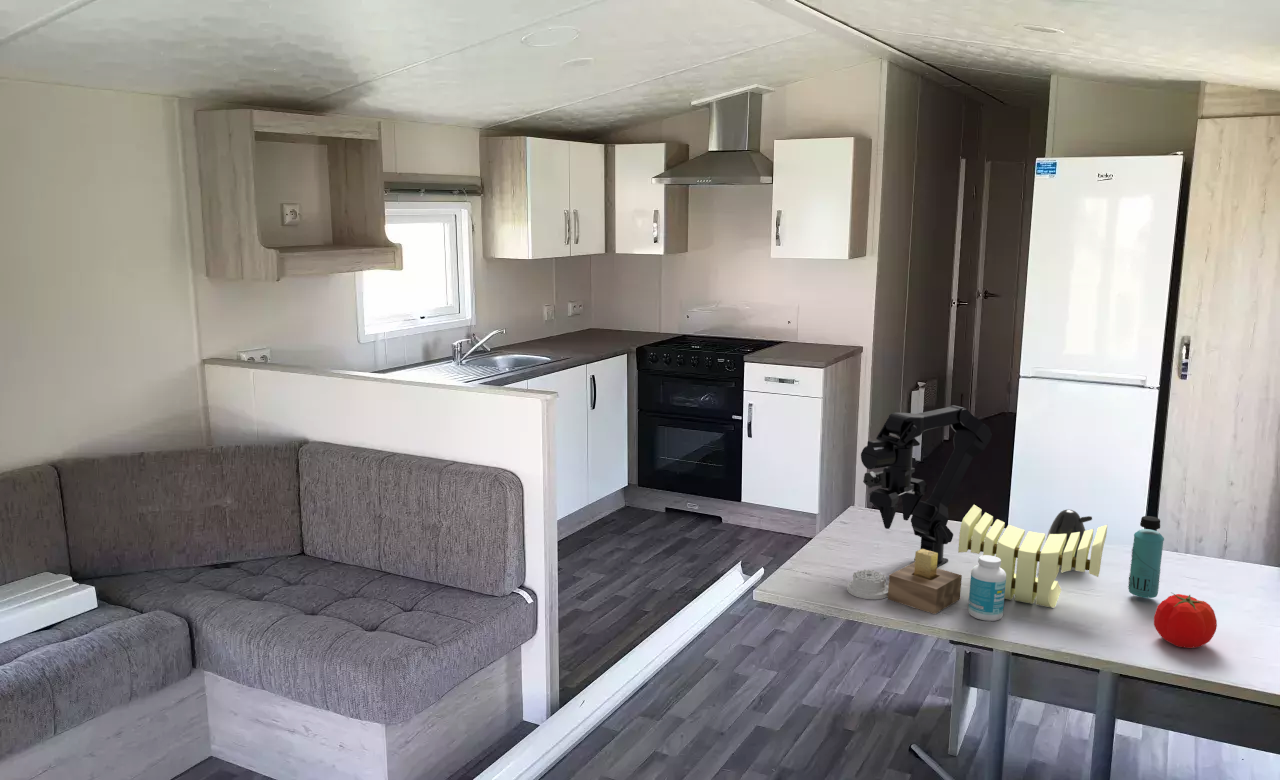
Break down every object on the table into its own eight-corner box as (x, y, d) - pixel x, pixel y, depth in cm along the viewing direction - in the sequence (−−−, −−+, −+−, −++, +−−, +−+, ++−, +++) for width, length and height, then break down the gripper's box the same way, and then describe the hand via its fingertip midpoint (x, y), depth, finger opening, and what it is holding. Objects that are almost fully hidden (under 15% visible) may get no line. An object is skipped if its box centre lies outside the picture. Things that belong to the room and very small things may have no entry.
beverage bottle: (1155, 595, 229) (1164, 514, 225) (1160, 606, 223) (1169, 523, 219) (1124, 591, 231) (1133, 511, 227) (1128, 602, 225) (1137, 520, 221)
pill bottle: (998, 625, 212) (1003, 566, 210) (964, 617, 216) (968, 560, 214) (1006, 613, 219) (1010, 556, 216) (972, 606, 222) (976, 550, 220)
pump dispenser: (1084, 577, 240) (1089, 518, 237) (1039, 569, 246) (1044, 511, 243) (1089, 564, 249) (1095, 508, 246) (1046, 557, 254) (1051, 501, 251)
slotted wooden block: (913, 585, 234) (915, 561, 233) (960, 599, 226) (961, 575, 225) (887, 599, 226) (889, 574, 225) (935, 614, 218) (936, 589, 217)
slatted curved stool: (955, 593, 229) (960, 522, 226) (969, 572, 243) (974, 504, 240) (1093, 620, 215) (1101, 544, 212) (1100, 596, 228) (1107, 524, 225)
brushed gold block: (919, 588, 228) (922, 548, 226) (935, 593, 225) (937, 553, 224) (913, 592, 226) (915, 551, 224) (928, 597, 223) (931, 556, 222)
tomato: (1146, 628, 211) (1151, 583, 209) (1205, 634, 208) (1211, 589, 206) (1158, 651, 200) (1163, 604, 198) (1220, 659, 197) (1226, 611, 195)
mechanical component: (847, 598, 227) (890, 602, 225) (848, 580, 226) (891, 584, 224) (847, 582, 236) (889, 586, 234) (847, 565, 236) (890, 568, 234)
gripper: (889, 451, 251) (886, 509, 254) (851, 465, 238) (848, 525, 241) (929, 459, 244) (925, 518, 247) (891, 473, 231) (888, 536, 234)
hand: (896, 524), depth 242 cm, fingers open, 9 cm apart
